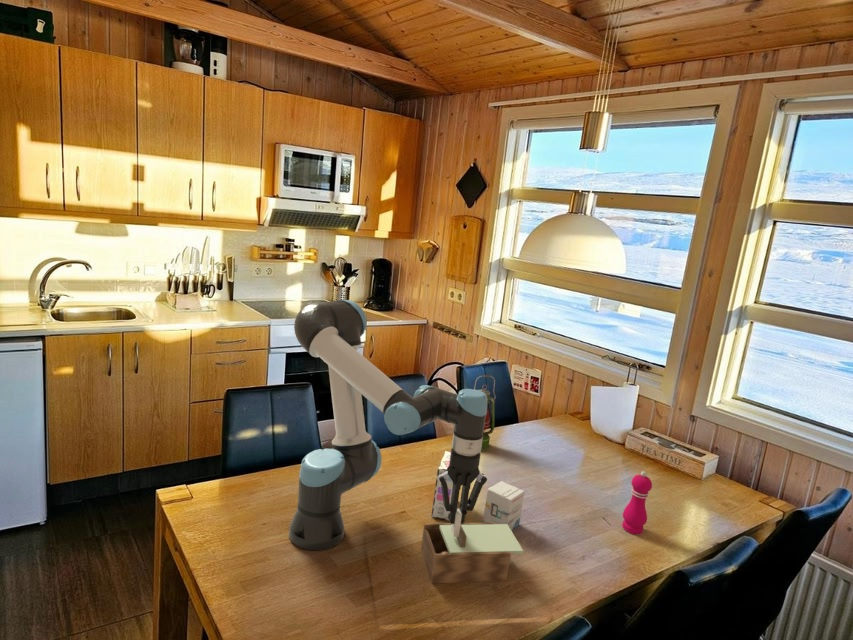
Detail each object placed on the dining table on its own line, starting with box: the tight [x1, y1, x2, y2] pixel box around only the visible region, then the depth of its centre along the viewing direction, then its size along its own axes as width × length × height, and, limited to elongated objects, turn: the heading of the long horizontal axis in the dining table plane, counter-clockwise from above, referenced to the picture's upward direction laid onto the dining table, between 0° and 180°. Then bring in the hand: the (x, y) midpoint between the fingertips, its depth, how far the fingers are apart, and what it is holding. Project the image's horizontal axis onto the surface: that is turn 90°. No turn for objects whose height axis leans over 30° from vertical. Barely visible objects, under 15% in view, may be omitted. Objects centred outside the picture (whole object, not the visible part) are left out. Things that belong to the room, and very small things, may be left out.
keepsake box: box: [420, 522, 512, 584], centre depth 150 cm, size 20×14×9 cm
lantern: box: [473, 374, 497, 452], centre depth 226 cm, size 14×11×30 cm
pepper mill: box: [621, 470, 653, 535], centre depth 177 cm, size 7×7×20 cm
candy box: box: [431, 450, 453, 522], centre depth 177 cm, size 14×6×16 cm, turn 168°
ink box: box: [482, 480, 525, 531], centre depth 172 cm, size 9×8×12 cm
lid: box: [439, 524, 524, 555], centre depth 149 cm, size 20×12×4 cm, turn 102°
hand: (454, 533), depth 147 cm, fingers closed
